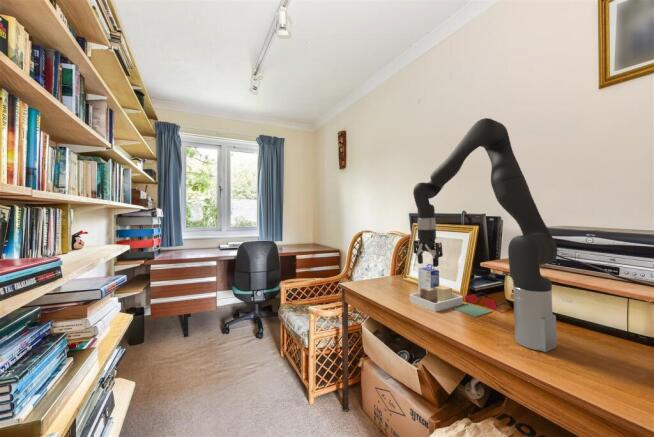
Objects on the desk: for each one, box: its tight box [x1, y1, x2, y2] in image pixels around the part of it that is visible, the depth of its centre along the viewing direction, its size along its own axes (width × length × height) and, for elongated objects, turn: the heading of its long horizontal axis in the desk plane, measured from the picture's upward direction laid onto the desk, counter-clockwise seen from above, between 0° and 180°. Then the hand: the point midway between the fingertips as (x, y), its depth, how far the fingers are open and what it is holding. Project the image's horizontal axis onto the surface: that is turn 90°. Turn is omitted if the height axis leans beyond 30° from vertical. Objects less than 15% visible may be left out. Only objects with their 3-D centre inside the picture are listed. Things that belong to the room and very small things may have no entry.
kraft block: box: [435, 285, 453, 302], centre depth 120 cm, size 5×5×6 cm
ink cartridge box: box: [417, 263, 440, 292], centre depth 133 cm, size 10×6×14 cm, turn 18°
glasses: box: [463, 292, 509, 311], centre depth 115 cm, size 14×16×5 cm
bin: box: [409, 291, 464, 313], centre depth 118 cm, size 15×17×4 cm
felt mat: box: [452, 303, 493, 318], centre depth 107 cm, size 10×10×1 cm
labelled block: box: [419, 287, 438, 303], centre depth 116 cm, size 5×5×7 cm
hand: (427, 265), depth 116 cm, fingers open, 8 cm apart
